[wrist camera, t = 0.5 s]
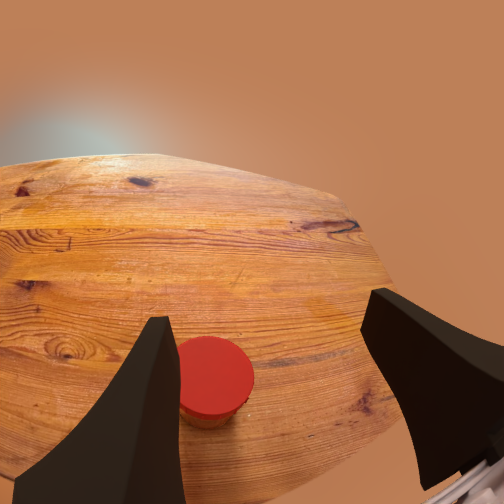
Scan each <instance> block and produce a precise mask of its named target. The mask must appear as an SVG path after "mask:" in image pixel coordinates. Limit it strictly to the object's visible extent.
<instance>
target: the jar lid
mask: <svg viewBox="0 0 504 504" xmlns="http://www.w3.org/2000/svg"><path fill="white" fill-rule="evenodd" d="M177 350H178V353H179V357H180V373H181V393H180V408H181V409H182V410H183V411H184V412H185V414H189V415H191V416H193V417H196V418H199V419H201V420H221V419H223V418H226V417H228V416H231V415H232V414H236V412H237V411H238V410H239V409H240V408H241V407H242V406H243V404H244V403H246V402H247V400H248V399H249V395H250V393H251V391H252V388H253V385H254V371H253V367H252V364H251V362H250V360H249V358H248V357H247V355H246V354H245V353H244V352H243V351H242V350H241V349H240V348H239V347H238V346H237V345H235V344H234V343H232V342H230V341H228V340H225V339H222V338H219V337H213V336H202V337H196V338H193V339H190V340H188V341H186V342H184V343H182V344H181V345H180V346H178V347H177Z"/></svg>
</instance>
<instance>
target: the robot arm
mask: <svg viewBox="0 0 504 504" xmlns="http://www.w3.org/2000/svg"><path fill="white" fill-rule="evenodd" d="M360 331H361V334H362V336H363V338H364V341H365V343H366V346H367V348H368V350H369V352H370V354H371V356H372V358H373V359H374V361H375V363H376V364H377V366H378V368H379V369H380V371H381V373H382V374H383V376H384V378H385V380H386V381H387V383H388V385H389V386H390V388H391V390H392V392H393V393H394V395H395V397H396V399H397V401H398V403H399V405H400V408H401V410H402V413H403V415H404V418H405V420H406V423H407V426H408V429H409V432H410V435H411V438H412V442H413V445H414V449H415V453H416V457H417V462H418V468H419V475H420V483H421V486H422V487H423V490H424V491H426V490H428V489H430V488H431V487H433V486H435V485H437V484H438V483H440V482H442V481H443V480H445V479H447V478H449V477H450V476H452V475H453V474H455V473H456V472H458V471H460V473H461V475H462V476H461V477H460V478H459V479H457V480H456V481H455V482H453V483H452V484H450V485H449V486H448V487H447V488H445V489H443V490H442V491H441V492H439V493H437V494H436V495H435V496H433V497H431V498H430V499H428V500H427V501H425V502H423V503H421V504H452V503H453V502H454V501H456V500H457V499H458V500H457V502H456V503H454V504H504V346H501V345H498V344H495V343H492V342H489V341H486V340H483V339H481V338H478V337H476V336H474V335H472V334H469V333H467V332H465V331H462V330H460V329H459V328H457V327H455V326H453V325H451V324H449V323H447V322H445V321H443V320H441V319H440V318H438V317H436V316H435V315H433V314H431V313H429V312H428V311H426V310H424V309H423V308H421V307H419V306H417V305H416V304H414V303H412V302H411V301H409V300H407V299H405V298H404V297H402V296H400V295H398V294H397V293H395V292H393V291H391V290H389V289H387V288H380V289H375V290H372V291H371V295H370V299H369V302H368V306H367V309H366V313H365V316H364V320H363V323H362V326H361V329H360ZM180 393H181V373H180V357H179V353H178V350H177V347H176V343H175V339H174V336H173V332H172V328H171V325H170V321H169V317H168V316H163V317H150V318H149V320H148V321H147V323H146V325H145V327H144V328H143V330H142V332H141V334H140V335H139V337H138V339H137V341H136V342H135V344H134V346H133V348H132V349H131V351H130V353H129V354H128V356H127V357H126V359H125V361H124V362H123V364H122V366H121V367H120V369H119V370H118V372H117V373H116V375H115V376H114V378H113V379H112V381H111V382H110V384H109V385H108V387H107V388H106V390H105V391H104V392H103V394H102V395H101V396H100V398H99V399H98V400H97V402H96V403H95V404H94V406H93V407H92V408H91V409H90V411H89V412H88V413H87V414H86V415H85V417H84V418H83V419H82V420H81V421H80V422H79V423H78V425H77V426H76V427H75V428H74V429H73V430H72V431H71V432H70V433H69V434H68V435H67V436H66V437H65V438H64V439H63V440H62V441H61V442H60V443H59V444H58V445H57V446H56V447H55V448H54V449H53V450H52V451H50V452H49V453H48V454H47V455H46V456H45V457H44V458H43V459H41V460H40V461H39V462H37V463H36V464H35V465H33V466H32V467H31V468H29V469H28V470H27V471H25V472H24V473H23V474H21V475H20V476H18V477H17V478H15V483H14V491H13V500H12V504H186V501H185V495H184V489H183V482H182V475H181V467H180V458H179V440H178V438H179V412H180Z"/></svg>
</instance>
